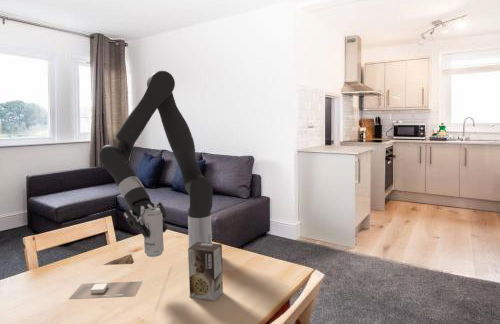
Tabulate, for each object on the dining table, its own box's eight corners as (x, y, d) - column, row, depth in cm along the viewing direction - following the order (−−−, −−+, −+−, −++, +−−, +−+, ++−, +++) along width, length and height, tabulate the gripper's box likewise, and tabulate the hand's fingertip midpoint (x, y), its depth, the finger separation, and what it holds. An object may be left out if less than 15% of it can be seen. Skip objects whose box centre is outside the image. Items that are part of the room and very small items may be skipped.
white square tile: (107, 286, 113) (107, 283, 113) (103, 292, 109) (103, 289, 109) (95, 287, 113) (95, 283, 113) (90, 293, 109) (90, 289, 109)
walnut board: (142, 284, 117) (142, 281, 117) (135, 299, 107) (135, 296, 107) (82, 286, 116) (81, 283, 115) (68, 302, 106) (68, 299, 106)
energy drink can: (140, 254, 112) (138, 210, 110) (155, 249, 117) (153, 206, 115) (153, 259, 109) (151, 213, 107) (167, 252, 114) (165, 208, 112)
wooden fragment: (104, 285, 117) (104, 282, 117) (77, 281, 120) (77, 278, 120) (145, 256, 142) (145, 254, 142) (121, 254, 145) (121, 251, 144)
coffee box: (223, 292, 111) (222, 244, 109) (215, 302, 105) (214, 251, 103) (198, 287, 114) (197, 240, 112) (188, 297, 108) (187, 247, 106)
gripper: (118, 189, 110) (142, 233, 104) (156, 182, 121) (179, 221, 115) (110, 203, 113) (132, 246, 108) (147, 195, 125) (169, 234, 119)
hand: (156, 233), depth 111 cm, fingers closed on energy drink can, 6 cm apart
